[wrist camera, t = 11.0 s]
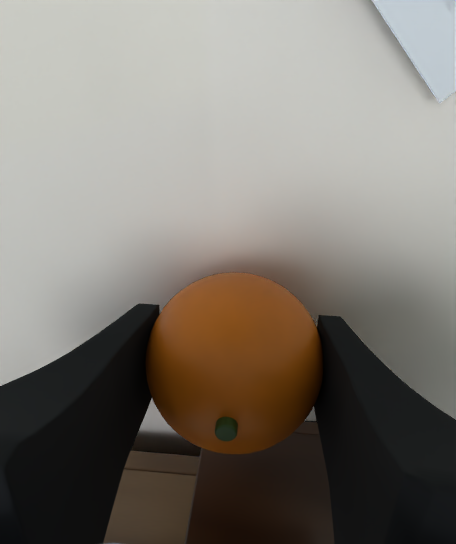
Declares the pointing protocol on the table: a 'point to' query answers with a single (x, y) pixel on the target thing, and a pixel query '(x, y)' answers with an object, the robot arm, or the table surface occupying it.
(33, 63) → the table surface
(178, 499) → the drawer
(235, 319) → the orange
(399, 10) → the touchpad
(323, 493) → the cabinet
